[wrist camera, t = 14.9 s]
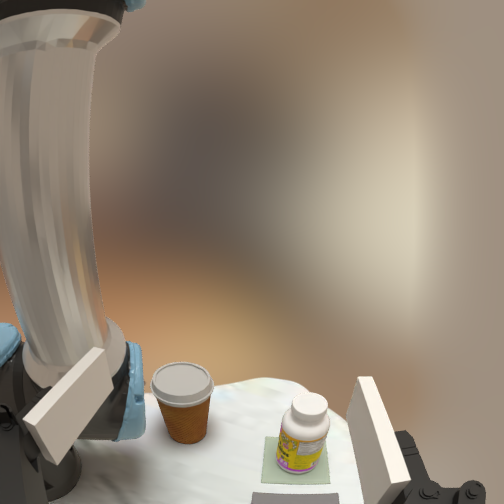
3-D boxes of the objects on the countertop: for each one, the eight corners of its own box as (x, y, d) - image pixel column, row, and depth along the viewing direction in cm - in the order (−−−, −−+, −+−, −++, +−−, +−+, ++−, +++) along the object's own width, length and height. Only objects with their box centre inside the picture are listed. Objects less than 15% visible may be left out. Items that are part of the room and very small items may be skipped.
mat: (261, 482, 33) (261, 482, 33) (265, 436, 43) (265, 436, 43) (330, 483, 32) (330, 483, 32) (325, 438, 42) (325, 438, 42)
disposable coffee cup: (225, 441, 41) (225, 387, 39) (170, 457, 36) (159, 404, 34) (201, 407, 49) (198, 355, 47) (152, 419, 44) (142, 366, 42)
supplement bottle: (272, 446, 40) (281, 388, 38) (312, 443, 41) (327, 385, 38) (278, 477, 34) (289, 421, 31) (322, 472, 34) (341, 416, 32)
